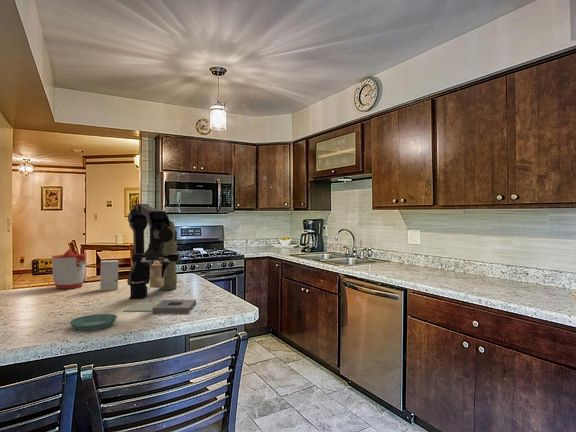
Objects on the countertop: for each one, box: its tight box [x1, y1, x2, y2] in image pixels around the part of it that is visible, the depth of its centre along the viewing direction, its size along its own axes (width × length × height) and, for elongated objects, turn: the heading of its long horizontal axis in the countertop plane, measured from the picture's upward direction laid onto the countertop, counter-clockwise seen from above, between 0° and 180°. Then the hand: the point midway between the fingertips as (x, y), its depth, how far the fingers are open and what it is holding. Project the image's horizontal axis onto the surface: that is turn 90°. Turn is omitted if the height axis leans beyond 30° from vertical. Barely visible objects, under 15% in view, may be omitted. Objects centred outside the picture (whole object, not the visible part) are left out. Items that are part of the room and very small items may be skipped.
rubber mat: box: [123, 303, 158, 313], centre depth 156 cm, size 11×11×1 cm
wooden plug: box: [149, 263, 164, 289], centre depth 156 cm, size 4×4×9 cm
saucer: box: [69, 313, 118, 332], centre depth 132 cm, size 15×15×3 cm
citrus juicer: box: [51, 249, 88, 290], centre depth 200 cm, size 16×17×20 cm
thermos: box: [158, 220, 178, 292], centre depth 195 cm, size 9×12×35 cm
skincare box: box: [99, 259, 119, 292], centre depth 194 cm, size 8×6×15 cm
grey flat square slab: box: [152, 299, 197, 314], centre depth 155 cm, size 14×14×2 cm
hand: (156, 278), depth 156 cm, fingers closed on wooden plug, 4 cm apart
